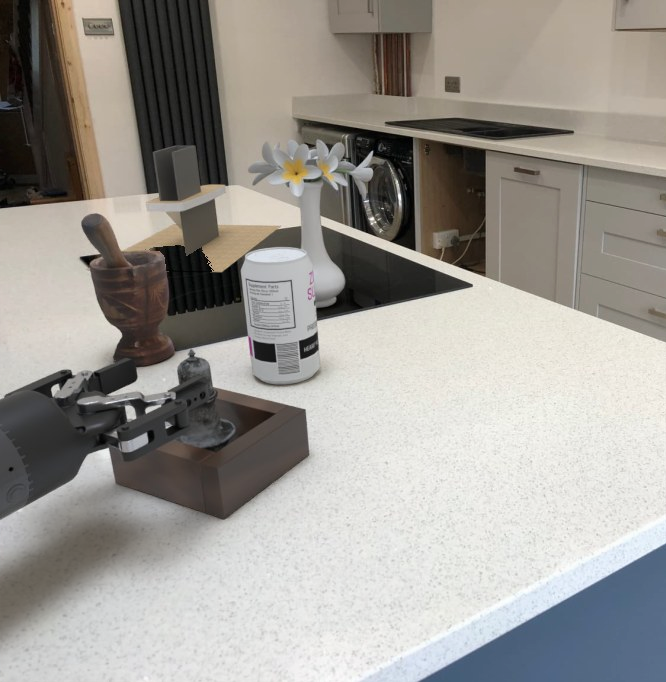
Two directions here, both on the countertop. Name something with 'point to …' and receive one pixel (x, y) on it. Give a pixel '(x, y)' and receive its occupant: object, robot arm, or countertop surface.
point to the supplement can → (281, 314)
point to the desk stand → (223, 458)
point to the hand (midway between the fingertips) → (168, 377)
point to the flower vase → (313, 200)
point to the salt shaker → (204, 411)
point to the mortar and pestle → (130, 293)
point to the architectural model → (195, 213)
